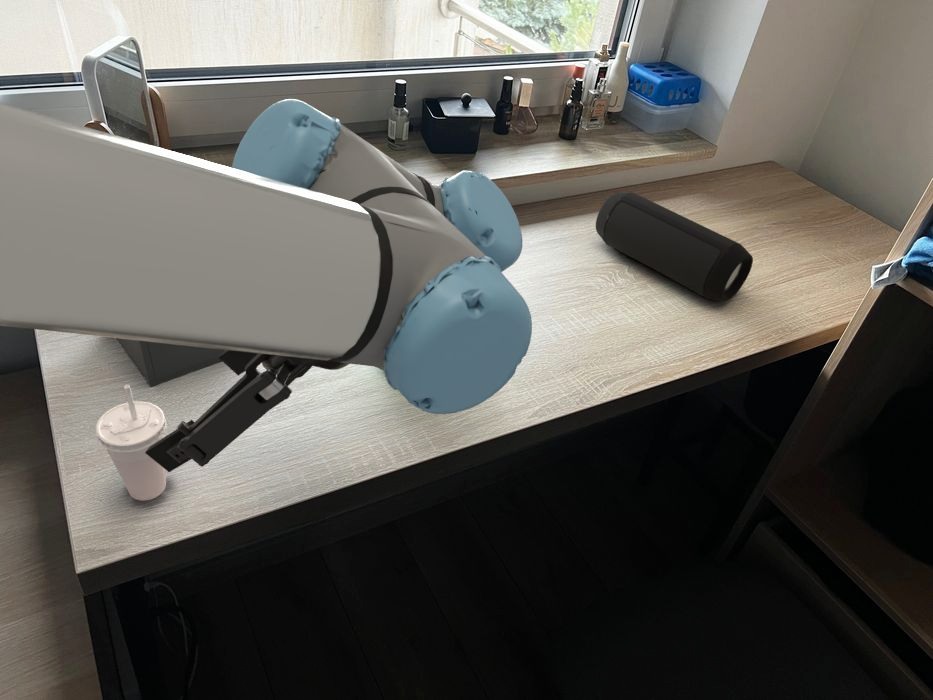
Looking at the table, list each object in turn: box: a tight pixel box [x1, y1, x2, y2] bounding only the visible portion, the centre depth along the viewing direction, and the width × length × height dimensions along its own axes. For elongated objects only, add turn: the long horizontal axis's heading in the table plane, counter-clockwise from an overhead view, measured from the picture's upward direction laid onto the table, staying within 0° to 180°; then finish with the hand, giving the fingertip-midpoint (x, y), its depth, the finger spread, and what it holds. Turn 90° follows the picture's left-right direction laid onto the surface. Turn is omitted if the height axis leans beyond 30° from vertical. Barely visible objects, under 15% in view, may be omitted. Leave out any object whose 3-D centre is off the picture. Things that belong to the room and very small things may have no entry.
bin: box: [115, 338, 226, 388], centre depth 94 cm, size 14×14×10 cm
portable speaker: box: [595, 191, 754, 302], centre depth 121 cm, size 26×10×10 cm, turn 44°
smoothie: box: [95, 384, 167, 502], centre depth 73 cm, size 6×6×14 cm
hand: (197, 408), depth 68 cm, fingers open, 13 cm apart
